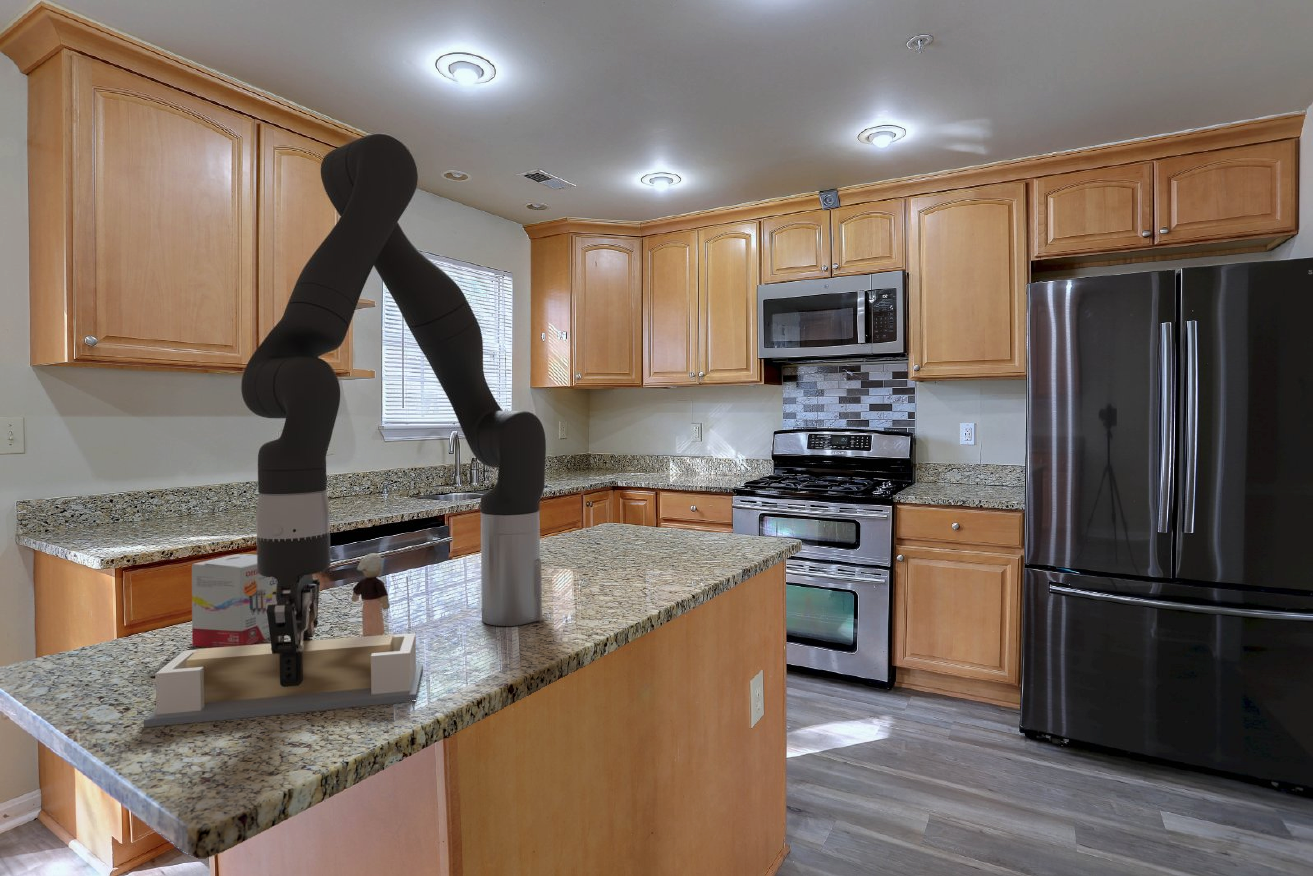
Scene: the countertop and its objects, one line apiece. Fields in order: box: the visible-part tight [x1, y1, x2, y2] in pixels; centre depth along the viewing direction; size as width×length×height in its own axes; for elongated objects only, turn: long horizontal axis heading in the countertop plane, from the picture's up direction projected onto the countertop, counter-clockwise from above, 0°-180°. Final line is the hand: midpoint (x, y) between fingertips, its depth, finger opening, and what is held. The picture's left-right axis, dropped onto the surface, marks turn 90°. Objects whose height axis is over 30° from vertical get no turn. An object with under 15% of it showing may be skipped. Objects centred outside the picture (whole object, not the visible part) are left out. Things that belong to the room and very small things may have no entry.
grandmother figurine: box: [350, 552, 391, 637], centre depth 102 cm, size 8×4×13 cm, turn 71°
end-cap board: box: [143, 632, 424, 728], centre depth 81 cm, size 27×10×5 cm, turn 104°
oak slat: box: [186, 634, 395, 703], centre depth 81 cm, size 21×4×5 cm, turn 104°
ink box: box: [191, 553, 278, 648], centre depth 103 cm, size 9×9×12 cm
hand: (296, 677), depth 81 cm, fingers open, 4 cm apart
